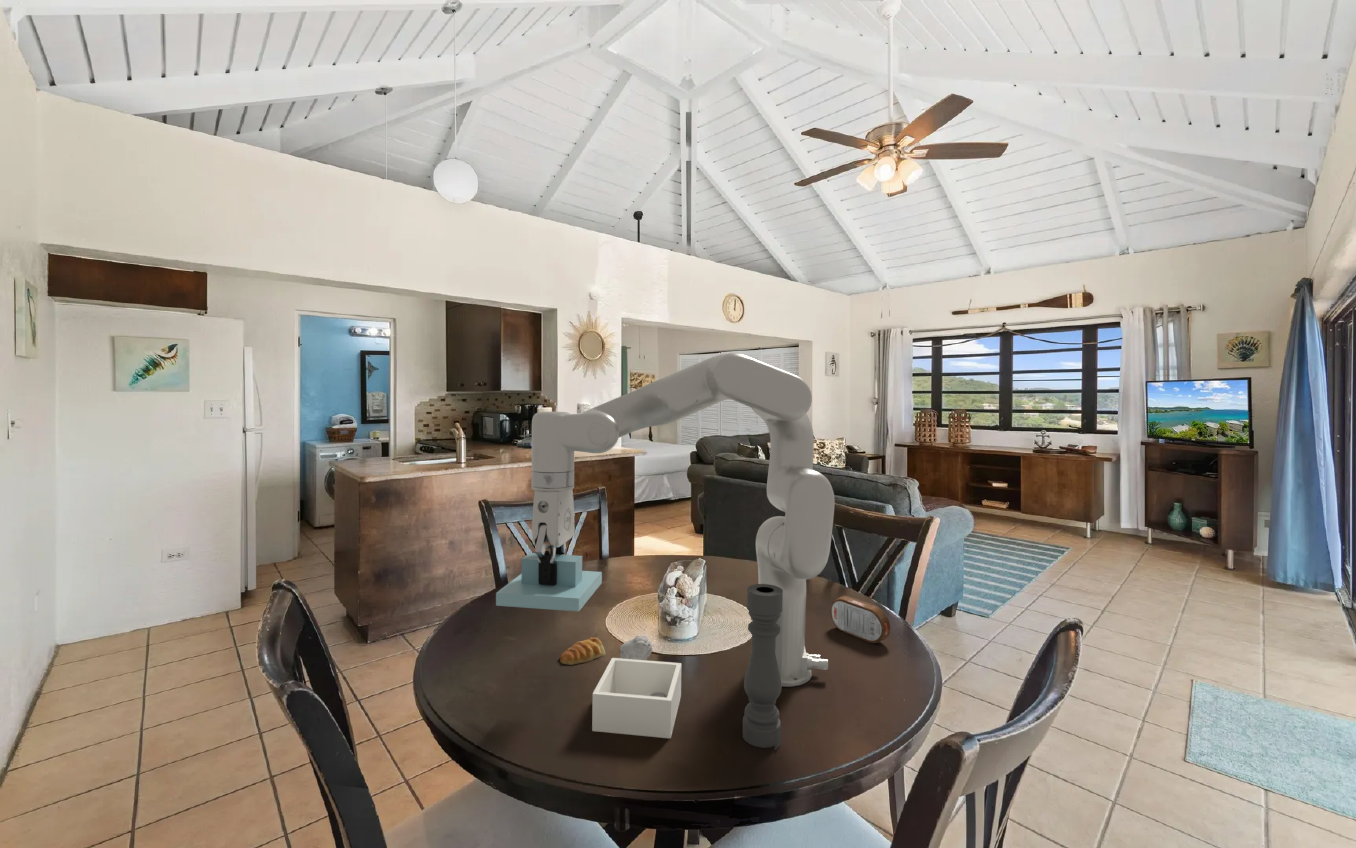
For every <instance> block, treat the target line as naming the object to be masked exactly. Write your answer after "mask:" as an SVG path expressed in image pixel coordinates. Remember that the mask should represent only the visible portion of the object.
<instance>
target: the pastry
mask: <svg viewBox="0 0 1356 848" xmlns="http://www.w3.org/2000/svg"><path fill="white" fill-rule="evenodd" d="M603 645H604V644H603V643H602V640H600V639H599V638H598V637H588V639H584V640H581V641H577V642H574V643H573V645H572V646H570V647H568V648H567V649H566V650H565V651H563V652H562V653H561V654H560V659H559V662H560V663H561V664H563V665H571V666H572V665H578V664H583V663H587V662H591V661H594V660H596V659H599V658H602V657H605V656H606V651H605V648H604V646H603Z"/></svg>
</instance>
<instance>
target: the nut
mask: <svg viewBox="0 0 1356 848" xmlns="http://www.w3.org/2000/svg"><path fill="white" fill-rule="evenodd" d="M650 696H654V697H665V698H667V696H666V695H665V694H664V693H660V692H656V693H653V694H651V695H650Z"/></svg>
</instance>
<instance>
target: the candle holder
mask: <svg viewBox="0 0 1356 848" xmlns="http://www.w3.org/2000/svg"><path fill="white" fill-rule="evenodd" d="M746 592H747V594H746V595H747V597H746V598H747V599H746V609H747V611H748V616H750V620H751V622H750V623H748V625H747V631H748V632H750V634H751V653H750V656H749V660H748V664H747V668H746V671H745V675H744V681H743V687H744V688H743V689H744V691H745V694H746V696H748V702H749V703H747V705H746V706H745V707H744V716H743V717H742V736H741V737H742V738H743V740H744V741H745V743H748V744H749V745H751V746H753V747H757V748H764V749H766V748H772V747H774V751H776V750H778V749H779V747H780V746H781V735H782V734H781V731H782V730H781V729H782V724H781V718H780V716H781V715H780V710H779V709H778V707H777V705H776V704H777V699H778V698H779V697H780V695H781V693H782V690H783V689H782V683H781V678H780V673H779V668H778V663H777V658H776V653H775V649H776V636H777V635H778V634H779V633H780V626H779V625H778V624H777V623H776V622H777V621H778V618H779V617H780V613H781V612H782V601H783V590H782V589H781V588H780V587H777V586H774V585H769V584H759V583H754V584H751V585H749V586H747V591H746Z"/></svg>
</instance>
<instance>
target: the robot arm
mask: <svg viewBox="0 0 1356 848" xmlns="http://www.w3.org/2000/svg"><path fill="white" fill-rule="evenodd" d="M726 400H730V401H731V400H732V401H735V402H737V403H740V404H741V405H744V406H746V407H748V408H750V409H751V410H752V411H753V412H754V413H755V414H756V415H757V416H759V417H760V418H761V419H762V420H763V422H764V423H765V425H766V427H767V429H768V432H769V438H770V447H769V448H770V450H769V451H770V452H769V453H770V454H769V460H768V462H769V463H768V471H767V473H768V474H767V480H766V481H767V482H766V497H767V499H768V501H769V503H770V504H771V505H772V506H773V507H774V508H776V509H777V510H779V511H781V512H784V513H785V515H783V516H781V515H778V516H772V517H770V518H768V519H766V520H765V521H764V522H762V524H761V525H760V526H759V527H758V529H757V533H756V536H755V553H756V562H757V569H758V570H757V573H758V574H757V575H758V584H769V585H774V586H777V587H780V588H781V589H782V590H783V601H782V612H781V613H780V617H779V618H778V621H777V622H776V623H777V624H778V625H779V626H780V633H779V634H778V635H777V636H776V649H775V653H776V658H777V663H778V668H779V673H780V678H781V683H782V687H785V688H786V687H787V688H788V687H796V686H797V687H798V686H801V685H804V684H806V683H807V682H808V681H810V680H811V678H812V672H813V671H812V670H813V669H818V670H824V671H825V670H826V671H827V670H829V660H828V659H827V658H826V659H825V658H821V654H815V653H814V654H809V652H807V651H806V646H805V643H806V642H805V641H806V640H805V639H806V637H805V636H806V608H807V607H806V603H807V580H812V579H814V578H816V577H817V576H818V575H820V574H821V573H822V572H823V571H824V568H825V567H826V565H827V564H828V560H829V556H830V552H831V546H832V545H831V543H832V535H833V525H834V516H835V505H836V504H835V503H836V502H835V501H836V500H835V492H834V490H833V487H832V485H831V482H830V480H829V479H828V478H827V477H826V476H825V475H823V474H822V473H821V472H819V471H816V470H814V469H813V468H814V467H813V466H814V447H815V444H814V441H815V438H814V430H813V427H812V426H813V424H812V422H811V421H810V420H811V419H810V418H809V416H808V414H807V413H808V412H809V410H810V408H811V406H812V402H813V396H812V391H811V389H810V386H809V384H807V382H806V381H805V380H804V379H802V378H801V377H800V376H797V375H796V374H793V373H792V372H791V373H790V372H789V371H786V370H783V369H781V368H778V367H775V366H773V365H771V364H767V363H766V362H763V361H761V360H757V359H755V358H753V357H751V356H748V355H745V354H743V353H738V352H729V353H724V354H718V355H715V356H712V357H709V358H707V359H704V360H702V361H700V362H696V363H695V364H693V365H690V366H688V367H686V368H684V369H681V370H679V371H676V372H673V373H671V374H669V375H666V376H664V377H662V378H659V379H657V380H654V381H652V382H650V383H646V384H645V385H643V386H642V387H640V388H637V389H636V390H633V391H630V392H628V393H626V394H624V395H620V396H618V397H616V398H613V399H612V400H609V401H606V402H604V403H602V404H601V403H600V404H599V405H596V406H594V407H592V408H590V409H587V410H586V411H583V412H581V413H570V412H566V411H538V412H536V413H534V415H533V416H532V420H531V490H533V491H534V495H533V504H532V518H531V519H532V521H531V522H532V523H531V524H532V525H531V530H532V531H531V535H532V536H531V538H532V543H533V545H534V546H535V548H534V553H536V554H537V555H538V563H539V574H538V583H539V584H540V585H553V586H554V585H556V584H557V563H556V562H555V554H558V555H567V554H566V553H567V542H568V541H570V539H571V540H572V538H573V537H574V536H575V532H576V530H575V529H576V528H575V526H576V525H575V503H574V500H575V499H574V493H573V489H575V452H582V453H587V454H604V453H606V452H609V451H611V449H613V448H614V447H615V446H616V444H617V443H618V440H619V438H621V437H624V436H627V435H629V434H631V433H633V432H637V431H639V430H642V429H647V428H650V427H657V426H663V425H664V426H665V425H669V424H671V423H675V422H678V421H680V420H682V419H684V418H687V417H689V416H691V415H693V414H695V413H697V412H700V411H702V410H704V409H707V408H710V407H712V406H714V405H716V404H719V403H721V402H723V401H726ZM547 542H548V544H547Z"/></svg>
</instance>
